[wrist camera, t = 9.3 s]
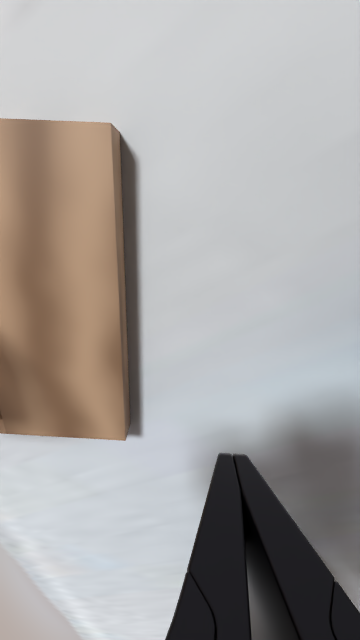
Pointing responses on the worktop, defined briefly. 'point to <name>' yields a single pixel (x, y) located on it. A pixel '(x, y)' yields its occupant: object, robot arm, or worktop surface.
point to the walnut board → (62, 281)
